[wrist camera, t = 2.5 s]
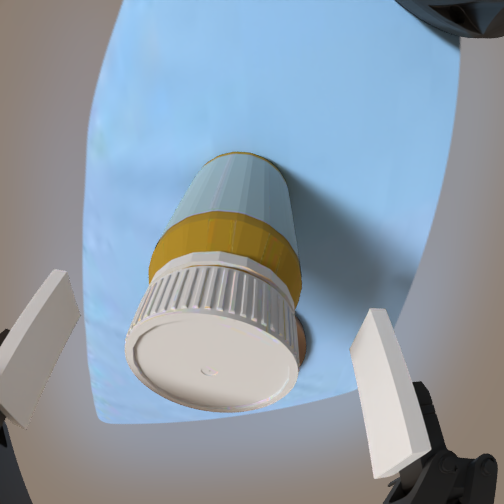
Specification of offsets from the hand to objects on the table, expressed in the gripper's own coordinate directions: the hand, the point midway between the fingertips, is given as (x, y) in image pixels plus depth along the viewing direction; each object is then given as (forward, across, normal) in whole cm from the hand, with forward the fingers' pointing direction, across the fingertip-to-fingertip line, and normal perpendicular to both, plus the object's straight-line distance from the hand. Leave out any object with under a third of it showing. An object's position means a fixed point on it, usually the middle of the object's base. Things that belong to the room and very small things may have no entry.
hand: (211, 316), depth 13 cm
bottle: (+12, 0, 0) cm, 12 cm away
